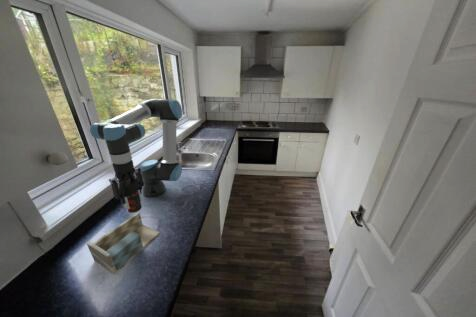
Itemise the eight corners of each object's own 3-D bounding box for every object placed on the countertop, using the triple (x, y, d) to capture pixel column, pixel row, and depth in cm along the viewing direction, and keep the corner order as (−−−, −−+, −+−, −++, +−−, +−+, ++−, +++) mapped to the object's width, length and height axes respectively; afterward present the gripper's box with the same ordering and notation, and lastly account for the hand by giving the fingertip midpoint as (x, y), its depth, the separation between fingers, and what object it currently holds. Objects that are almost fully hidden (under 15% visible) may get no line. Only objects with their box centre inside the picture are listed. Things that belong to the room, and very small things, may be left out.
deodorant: (144, 206, 89) (138, 180, 83) (135, 213, 84) (128, 187, 78) (134, 203, 90) (128, 178, 84) (125, 211, 85) (117, 184, 79)
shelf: (141, 224, 99) (137, 209, 95) (159, 233, 94) (156, 217, 89) (94, 260, 79) (86, 243, 75) (114, 274, 74) (107, 256, 69)
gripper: (136, 152, 86) (144, 191, 95) (93, 167, 70) (108, 213, 79) (147, 155, 83) (155, 195, 92) (104, 172, 67) (119, 219, 77)
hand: (133, 203), depth 86 cm, fingers closed on deodorant, 6 cm apart
